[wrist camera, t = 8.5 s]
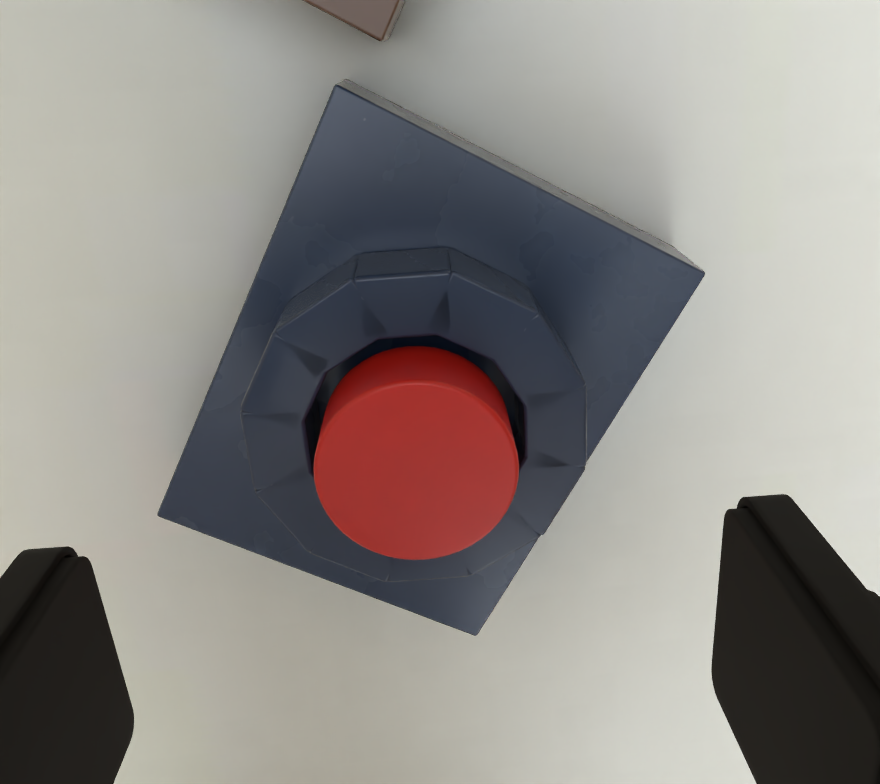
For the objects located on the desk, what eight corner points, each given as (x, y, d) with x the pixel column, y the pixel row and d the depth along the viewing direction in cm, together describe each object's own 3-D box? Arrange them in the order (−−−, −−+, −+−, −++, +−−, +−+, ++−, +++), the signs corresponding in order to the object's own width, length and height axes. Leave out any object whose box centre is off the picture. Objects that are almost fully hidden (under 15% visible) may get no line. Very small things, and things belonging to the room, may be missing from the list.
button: (457, 535, 17) (462, 588, 15) (294, 470, 16) (281, 518, 14) (542, 390, 15) (556, 432, 14) (369, 312, 15) (364, 346, 13)
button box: (470, 581, 22) (482, 692, 18) (182, 468, 20) (129, 565, 16) (674, 246, 18) (740, 299, 14) (344, 78, 17) (325, 88, 13)
